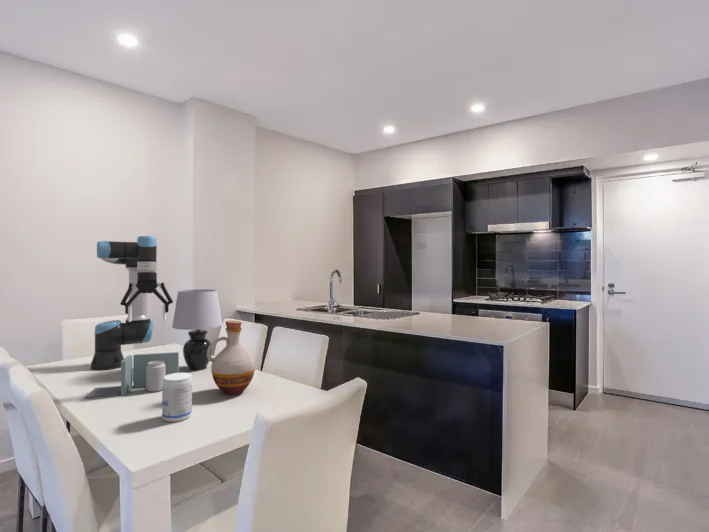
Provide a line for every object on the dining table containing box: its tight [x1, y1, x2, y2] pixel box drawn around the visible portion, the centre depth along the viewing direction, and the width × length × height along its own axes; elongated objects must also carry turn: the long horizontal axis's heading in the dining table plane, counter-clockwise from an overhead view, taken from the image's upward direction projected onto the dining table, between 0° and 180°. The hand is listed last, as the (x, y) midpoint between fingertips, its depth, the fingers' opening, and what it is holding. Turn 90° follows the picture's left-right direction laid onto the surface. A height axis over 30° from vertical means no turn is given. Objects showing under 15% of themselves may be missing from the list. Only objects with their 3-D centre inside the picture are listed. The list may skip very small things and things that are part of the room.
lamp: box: [172, 288, 223, 372], centre depth 206 cm, size 24×24×40 cm
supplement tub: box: [161, 372, 193, 423], centre depth 141 cm, size 10×10×15 cm
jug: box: [207, 320, 256, 396], centre depth 169 cm, size 20×18×30 cm
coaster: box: [84, 385, 121, 399], centre depth 168 cm, size 12×12×1 cm
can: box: [145, 361, 166, 393], centre depth 171 cm, size 8×8×12 cm
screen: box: [120, 351, 180, 397], centre depth 172 cm, size 13×20×14 cm, turn 106°
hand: (147, 320), depth 174 cm, fingers open, 13 cm apart
